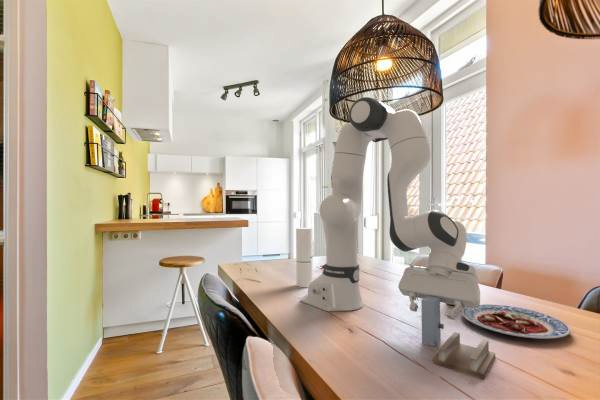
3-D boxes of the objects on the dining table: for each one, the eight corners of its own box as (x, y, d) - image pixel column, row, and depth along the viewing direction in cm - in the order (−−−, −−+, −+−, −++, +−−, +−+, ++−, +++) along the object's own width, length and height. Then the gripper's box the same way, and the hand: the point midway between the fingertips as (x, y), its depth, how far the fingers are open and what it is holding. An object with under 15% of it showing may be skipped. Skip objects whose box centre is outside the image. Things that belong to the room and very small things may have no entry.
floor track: (432, 362, 70) (432, 347, 70) (449, 344, 79) (448, 330, 79) (483, 379, 63) (483, 361, 63) (495, 357, 72) (494, 341, 72)
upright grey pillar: (421, 343, 80) (421, 299, 80) (428, 336, 84) (428, 295, 84) (438, 347, 77) (437, 302, 77) (444, 340, 81) (444, 298, 81)
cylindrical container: (315, 284, 138) (315, 228, 138) (307, 288, 132) (307, 229, 132) (302, 282, 142) (301, 227, 142) (293, 286, 136) (292, 228, 136)
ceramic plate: (532, 354, 74) (532, 341, 74) (443, 318, 98) (443, 308, 98) (591, 335, 84) (591, 324, 84) (498, 306, 108) (497, 298, 108)
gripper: (403, 259, 93) (388, 299, 86) (481, 267, 80) (472, 316, 72) (409, 271, 97) (396, 311, 89) (485, 281, 83) (477, 330, 76)
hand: (430, 314), depth 81 cm, fingers open, 8 cm apart
